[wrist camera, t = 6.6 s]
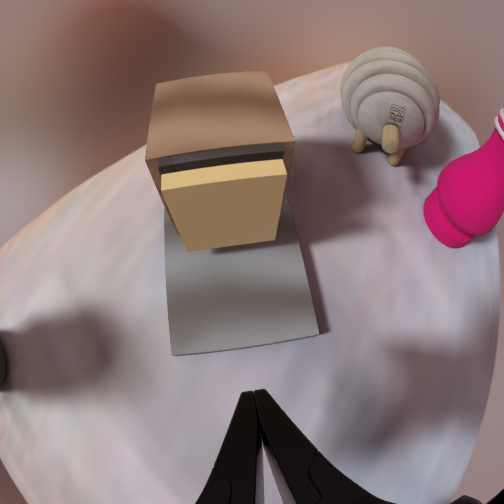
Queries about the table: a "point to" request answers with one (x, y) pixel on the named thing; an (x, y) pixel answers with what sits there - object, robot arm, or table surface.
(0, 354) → the character mug
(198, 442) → the table surface
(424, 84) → the toy sheep
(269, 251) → the wooden drawer box
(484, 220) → the pepper mill
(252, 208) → the tan drawer
